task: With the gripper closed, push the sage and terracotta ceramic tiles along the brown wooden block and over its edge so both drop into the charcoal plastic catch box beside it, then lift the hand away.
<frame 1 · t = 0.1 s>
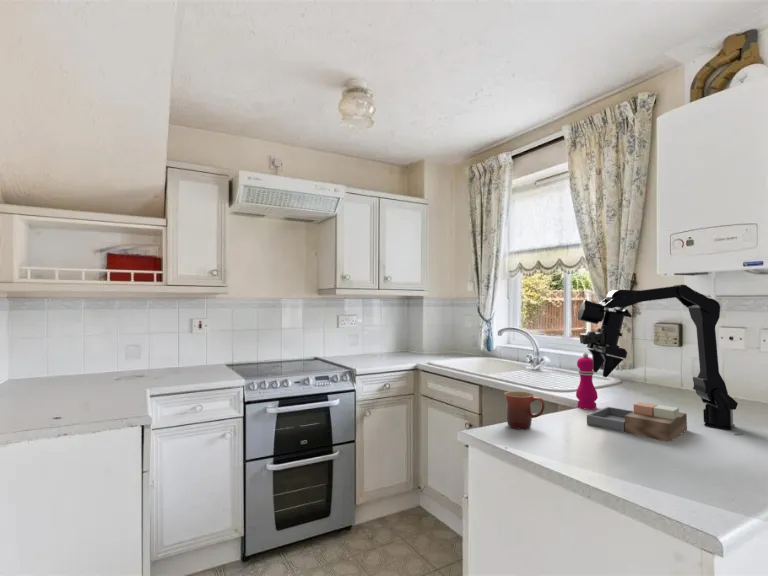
hand: (599, 374, 138), 15 cm above the counter, tool pointing down, fingers open, 9 cm apart
brown wooden block: (656, 431, 128), on the counter
tile terracotta: (645, 412, 130), point 5 cm above the counter, touching brown wooden block
catch box: (615, 423, 137), on the counter
pepper mill: (587, 407, 157), on the counter
mug: (524, 428, 133), on the counter
tile sage: (666, 416, 126), point 5 cm above the counter, touching brown wooden block
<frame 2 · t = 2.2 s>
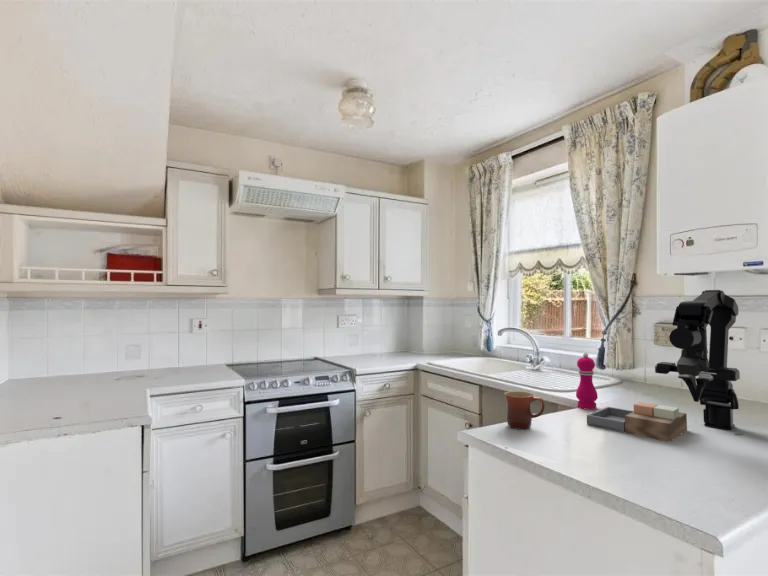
hand: (696, 401, 121), 11 cm above the counter, tool pointing down, fingers closed
nothing on the counter moved.
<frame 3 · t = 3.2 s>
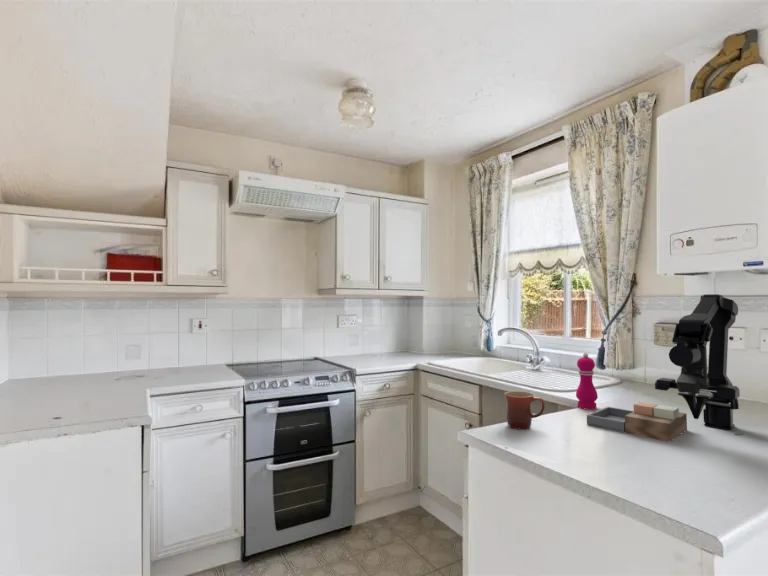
hand: (696, 418, 121), 6 cm above the counter, tool pointing down, fingers closed
nothing on the counter moved.
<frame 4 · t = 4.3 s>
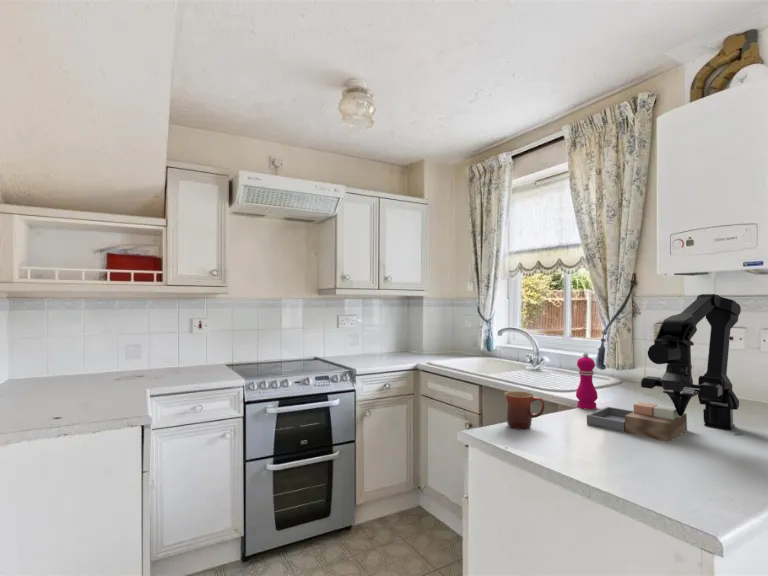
hand: (680, 416, 123), 6 cm above the counter, tool pointing down, fingers closed
tile sage: (666, 416, 126), point 5 cm above the counter, touching gripper
everything else where it was.
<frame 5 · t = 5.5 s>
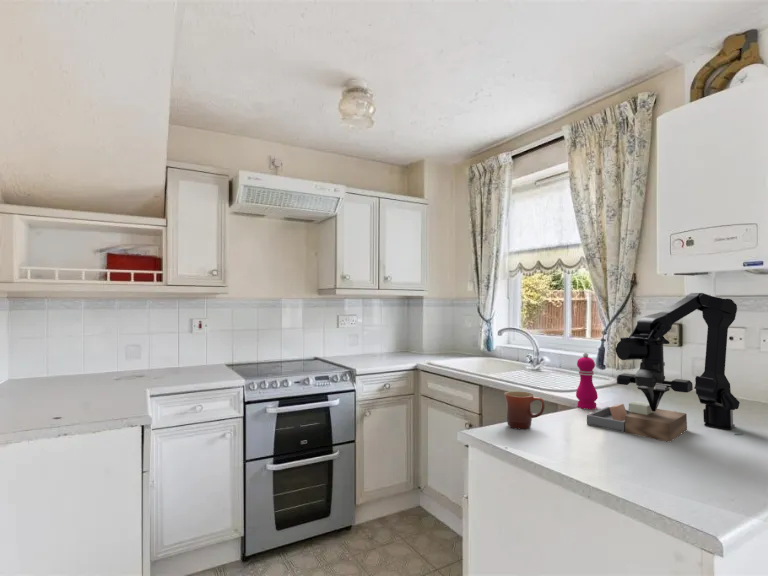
hand: (654, 411, 128), 6 cm above the counter, tool pointing down, fingers closed
tile terracotta: (623, 413, 135), point 4 cm above the counter, tilted 108°, touching catch box
tile sage: (641, 411, 131), point 5 cm above the counter, touching gripper
everything else where it was.
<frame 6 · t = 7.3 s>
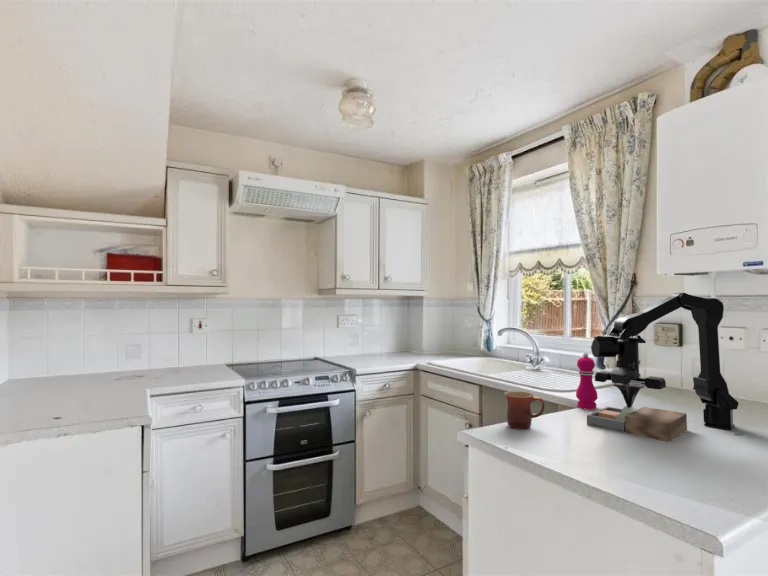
hand: (629, 407, 134), 6 cm above the counter, tool pointing down, fingers closed
tile terracotta: (609, 412, 138), point 3 cm above the counter, tilted 180°, touching catch box
tile sage: (630, 417, 134), point 3 cm above the counter, tilted 59°, touching catch box, gripper
everything else where it was.
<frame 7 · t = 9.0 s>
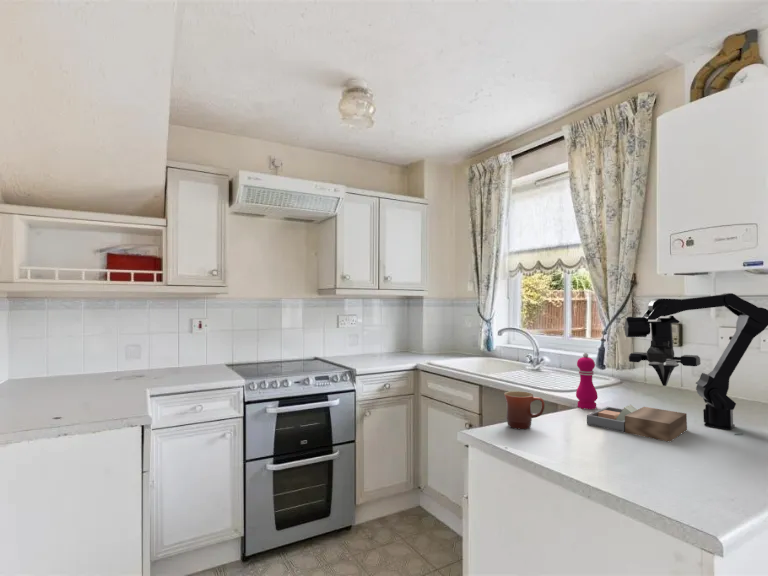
hand: (664, 385, 137), 12 cm above the counter, tool pointing down, fingers closed
tile sage: (630, 417, 134), point 3 cm above the counter, tilted 57°, touching brown wooden block, catch box
everything else where it was.
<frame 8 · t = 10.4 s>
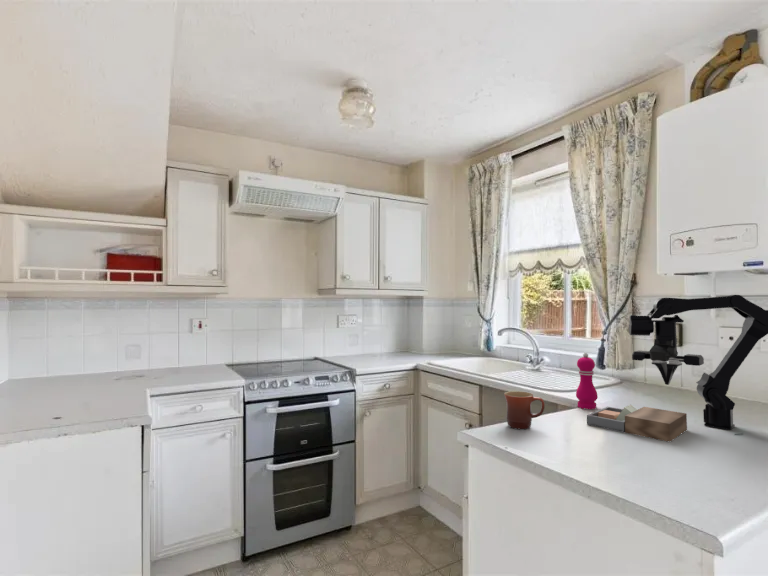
hand: (667, 384, 138), 12 cm above the counter, tool pointing down, fingers closed
nothing on the counter moved.
at the end: tile terracotta inside the target area on the catch box (1.7 cm from its centre), point 3.1 cm above the catch box's base; tile sage inside the target area on the catch box (4.4 cm from its centre), point 2.7 cm above the catch box's base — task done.
